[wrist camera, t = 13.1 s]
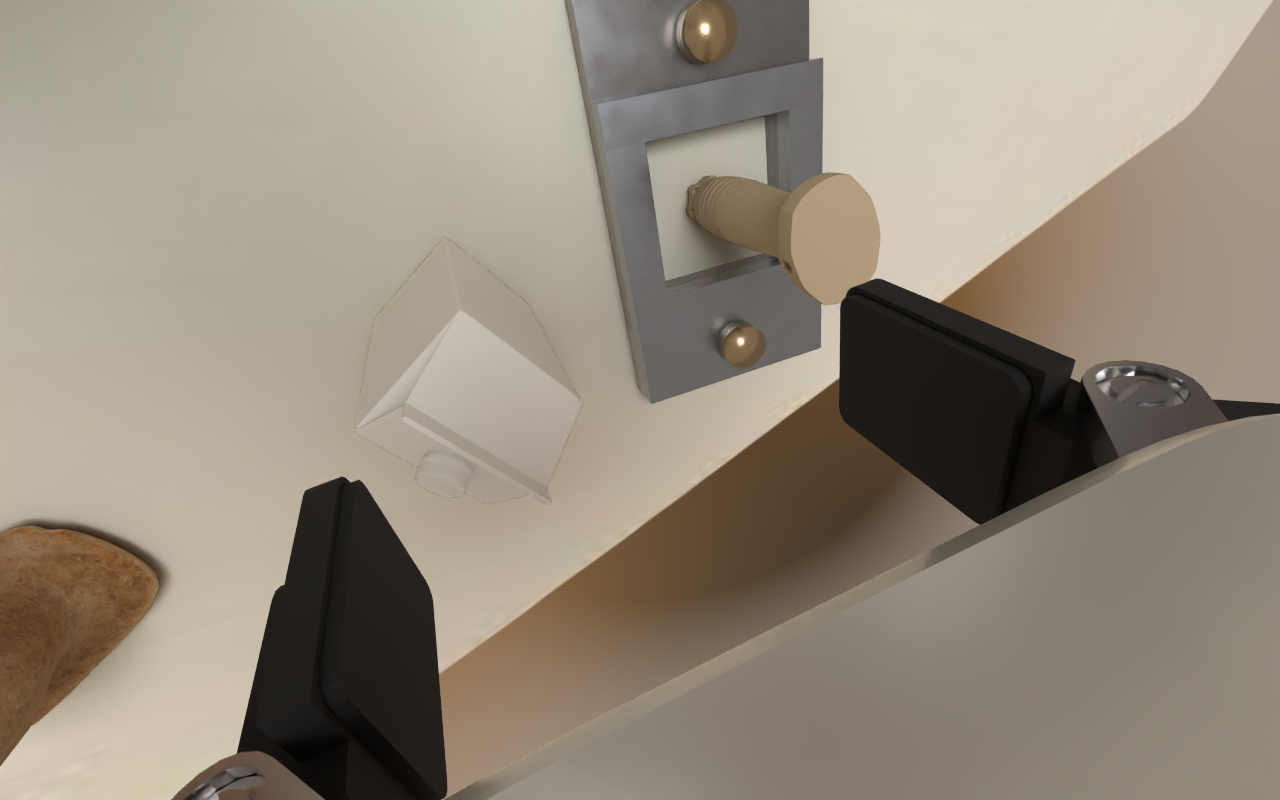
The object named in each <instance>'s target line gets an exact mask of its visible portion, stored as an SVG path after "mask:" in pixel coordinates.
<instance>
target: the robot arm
mask: <svg viewBox="0 0 1280 800" xmlns="http://www.w3.org/2000/svg"><path fill="white" fill-rule="evenodd" d="M1074 363H1075V360H1074V359H1072V358H1070V357H1067V356H1065V355H1062V354H1060V353H1058V352H1055V351H1053V350H1050V349H1048V348H1046V347H1043V346H1041V345H1038V344H1036V343H1033V342H1031V341H1029V340H1026V339H1024V338H1021V337H1019V336H1017V335H1014V334H1012V333H1010V332H1007V331H1005V330H1002V329H1000V328H998V327H995V326H993V325H990V324H988V323H986V322H983V321H981V320H978V319H976V318H974V317H971V316H969V315H966V314H964V313H961V312H959V311H956V310H954V309H952V308H950V307H947V306H945V305H942V304H940V303H938V302H935V301H933V300H930V299H928V298H926V297H923V296H921V295H918V294H916V293H914V292H911V291H909V290H906V289H904V288H902V287H899V286H897V285H894V284H892V283H890V282H887V281H885V280H882V279H874V280H871V281H868V282H865V283H863V284H860V285H857V286H855V287H852V288H850V289H849V290H848V291H847V294H846V297H845V298H844V299H843V300H842V302H841V307H840V386H839V389H840V391H839V393H840V394H839V408H840V413H841V416H842V418H843V420H844V421H845V422H846V423H847V424H848V425H849V426H850V427H852V428H853V429H854V430H855V431H857V432H858V433H859V434H861V435H862V436H863V437H865V438H866V439H867V440H869V441H870V442H871V443H872V444H874V445H875V446H876V447H878V448H879V449H880V450H882V451H883V452H884V453H886V454H887V455H888V456H889V457H891V458H892V459H893V460H895V461H896V462H897V463H899V464H900V465H901V466H903V467H904V468H905V469H906V470H908V471H909V472H910V473H912V474H913V475H914V476H915V477H917V478H918V479H920V480H921V481H922V482H923V483H925V484H926V485H927V486H929V487H930V488H931V489H932V490H934V491H935V492H936V493H938V494H939V495H940V496H942V497H943V498H944V499H946V500H947V501H948V502H949V503H951V504H952V505H953V506H955V507H956V508H957V509H959V510H960V511H961V512H962V513H964V514H965V515H966V516H968V517H969V518H970V519H972V520H973V521H975V522H976V523H978V524H980V525H979V526H978V527H976V528H973V529H971V530H969V531H967V532H965V533H963V534H961V535H959V536H957V537H955V538H953V539H951V540H949V541H947V542H945V543H943V544H941V545H939V546H937V547H935V548H933V549H931V550H929V551H927V552H925V553H923V554H921V555H919V556H917V557H915V558H913V559H911V560H909V561H907V562H905V563H903V564H901V565H899V566H897V567H895V568H893V569H891V570H889V571H887V572H885V573H883V574H881V575H879V576H877V577H875V578H873V579H871V580H869V581H867V582H865V583H863V584H861V585H859V586H857V587H855V588H853V589H851V590H849V591H847V592H845V593H843V594H841V595H839V596H837V597H835V598H833V599H831V600H829V601H827V602H825V603H823V604H821V605H819V606H817V607H815V608H813V609H811V610H809V611H807V612H805V613H803V614H801V615H799V616H797V617H795V618H793V619H791V620H789V621H787V622H785V623H783V624H781V625H779V626H777V627H775V628H773V629H771V630H769V631H767V632H765V633H763V634H761V635H759V636H757V637H755V638H753V639H751V640H749V641H747V642H745V643H743V644H741V645H739V646H737V647H735V648H733V649H731V650H729V651H728V652H726V653H724V654H722V655H720V656H718V657H716V658H714V659H712V660H710V661H708V662H706V663H704V664H702V665H700V666H698V667H696V668H694V669H692V670H690V671H688V672H686V673H684V674H682V675H680V676H678V677H676V678H674V679H672V680H671V681H668V682H666V683H664V684H663V685H661V686H659V687H657V688H655V689H653V690H651V691H649V692H647V693H645V694H643V695H641V696H639V697H637V698H635V699H633V700H631V701H629V702H627V703H625V704H623V705H621V706H619V707H617V708H615V709H613V710H611V711H609V712H607V713H605V714H604V715H602V716H600V717H598V718H596V719H594V720H592V721H590V722H588V723H586V724H584V725H582V726H580V727H578V728H576V729H575V730H573V731H571V732H569V733H567V734H565V735H563V736H561V737H560V738H558V739H556V740H554V741H552V742H550V743H548V744H546V745H544V746H542V747H541V748H539V749H537V750H535V751H533V752H531V753H529V754H527V755H525V756H524V757H522V758H520V759H518V760H516V761H514V762H512V763H510V764H508V765H506V766H505V767H503V768H501V769H499V770H497V771H495V772H493V773H491V774H489V775H487V776H486V777H484V778H482V779H480V780H478V781H476V782H474V783H473V784H471V785H469V786H467V787H466V788H464V789H462V790H461V791H459V792H457V793H456V794H454V795H452V796H450V797H449V798H447V799H445V800H1280V404H1275V403H1259V402H1243V401H1227V400H1212V399H1211V397H1210V396H1209V395H1208V393H1207V392H1206V391H1205V390H1204V388H1203V387H1202V386H1201V385H1200V384H1199V383H1197V382H1196V381H1195V380H1194V379H1193V378H1191V377H1189V376H1187V375H1186V374H1184V373H1182V372H1180V371H1178V370H1174V369H1171V368H1169V367H1166V366H1163V365H1158V364H1153V363H1147V362H1141V361H1127V360H1124V361H1109V362H1105V363H1100V364H1097V365H1094V366H1093V367H1091V368H1089V369H1087V370H1086V372H1085V373H1084V375H1083V376H1082V380H1081V383H1080V382H1077V381H1075V380H1073V379H1071V378H1070V377H1071V373H1072V370H1073V367H1074ZM446 794H447V775H446V761H445V748H444V736H443V723H442V710H441V697H440V685H439V671H438V659H437V646H436V633H435V620H434V607H433V599H432V595H431V591H430V588H429V586H428V584H427V582H426V580H425V579H424V577H423V576H422V574H421V572H420V571H419V569H418V568H417V566H416V565H415V563H414V561H413V560H412V558H411V557H410V555H409V554H408V552H407V551H406V549H405V547H404V546H403V544H402V543H401V541H400V540H399V538H398V536H397V535H396V533H395V532H394V530H393V529H392V527H391V525H390V524H389V522H388V521H387V519H386V518H385V516H384V514H383V513H382V511H381V510H380V508H379V507H378V505H377V503H376V502H375V500H374V499H373V497H372V496H371V494H370V492H369V491H368V489H367V488H366V486H365V485H364V484H363V482H361V481H360V480H357V481H354V482H351V483H350V482H349V480H347V479H346V478H345V477H340V478H337V479H334V480H332V481H329V482H326V483H323V484H321V485H318V486H315V487H313V488H310V489H308V490H306V491H305V493H304V495H303V499H302V504H301V509H300V514H299V518H298V523H297V528H296V533H295V537H294V542H293V547H292V552H291V556H290V561H289V566H288V571H287V575H286V580H285V585H283V586H281V587H279V588H278V589H277V590H276V591H275V594H274V596H273V599H272V602H271V606H270V611H269V615H268V619H267V624H266V628H265V633H264V637H263V641H262V646H261V650H260V654H259V659H258V663H257V668H256V672H255V676H254V681H253V685H252V689H251V694H250V698H249V703H248V707H247V711H246V716H245V720H244V724H243V729H242V733H241V737H240V742H239V746H238V751H237V754H235V755H232V756H230V757H227V758H225V759H222V760H220V761H218V762H217V763H215V764H214V765H212V766H211V767H209V768H207V769H206V770H204V771H203V772H201V773H199V774H198V775H197V776H196V777H195V778H194V779H193V780H191V781H190V782H189V783H188V784H187V785H186V786H185V787H184V788H182V789H181V790H180V791H179V792H178V793H177V794H176V795H175V796H174V798H173V799H172V800H441V799H443V798H445V797H446Z"/></svg>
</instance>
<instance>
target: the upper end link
mask: <svg viewBox="0 0 1280 800" xmlns="http://www.w3.org/2000/svg"><path fill="white" fill-rule="evenodd" d="M591 107H592V112H593V118H594V123H595V129H596V134H597V140H598V145H599V150H600V156H601V161H602V167H603V172H604V178H605V183H606V188H607V194H608V199H609V205H610V210H611V215H612V221H613V226H614V232H615V237H616V243H617V248H618V253H619V259H620V264H621V270H622V275H623V281H624V286H625V291H626V297H627V302H628V308H629V313H630V318H631V324H632V329H633V331H632V330H631V329H630V328H629V327H628V326H627V330H628V335H629V341H630V346H631V351H632V356H633V362H634V367H635V372H636V377H637V383H638V387H639V389H640V390H641V391H642V393H643V394H644V395H645V396H646V398H647V399H648V400H649V402H650V403H651V404H653V403H656V402H659V401H662V400H665V399H668V398H671V397H674V396H677V395H680V394H683V393H686V392H689V391H692V390H695V389H698V388H701V387H704V386H707V385H710V384H713V383H716V382H719V381H722V380H725V379H728V378H731V377H734V376H737V375H740V374H743V373H746V372H749V371H752V370H755V369H758V368H761V367H764V366H767V365H770V364H773V363H776V362H779V361H782V360H785V359H788V358H791V357H794V356H798V355H801V354H804V353H807V352H810V351H813V350H816V349H819V348H821V303H820V302H818V301H816V300H814V299H813V298H811V297H810V296H808V295H807V294H806V293H804V292H803V291H802V290H801V289H799V288H798V287H797V286H796V285H795V284H794V283H793V282H792V281H791V280H790V278H789V277H788V275H787V274H786V273H785V271H784V270H783V268H782V266H781V264H780V262H779V258H777V257H776V258H772V259H769V260H765V261H762V262H758V263H755V264H752V265H748V266H745V267H741V268H738V269H734V270H731V271H727V272H724V273H720V274H717V275H713V276H710V277H706V278H703V279H699V280H696V281H692V282H689V283H685V284H682V285H678V286H675V287H671V288H668V289H666V284H665V277H664V270H663V263H662V256H661V250H660V243H659V236H658V229H657V222H656V215H655V208H654V201H653V194H652V187H651V180H650V173H649V166H648V159H647V152H646V145H645V142H648V141H653V140H657V139H662V138H666V137H671V136H675V135H680V134H684V133H688V132H693V131H697V130H702V129H706V128H711V127H715V126H720V125H724V124H728V123H733V122H737V121H742V120H746V119H751V118H755V117H759V116H764V115H768V114H773V113H777V134H778V167H779V189H780V190H783V191H785V192H788V193H792V192H793V191H794V189H795V188H797V187H798V186H799V185H800V184H802V183H803V182H804V181H806V180H808V179H810V178H811V177H813V176H816V175H819V174H822V134H823V58H817V59H808V60H803V61H798V62H794V63H789V64H784V65H779V66H774V67H769V68H764V69H759V70H755V71H750V72H745V73H740V74H735V75H730V76H725V77H721V78H716V79H711V80H706V81H701V82H696V83H691V84H686V85H682V86H677V87H672V88H667V89H662V90H657V91H652V92H647V93H643V94H638V95H633V96H628V97H623V98H618V99H613V100H609V101H604V102H599V103H594V104H591Z"/></svg>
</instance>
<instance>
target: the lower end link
mask: <svg viewBox="0 0 1280 800" xmlns="http://www.w3.org/2000/svg"><path fill="white" fill-rule="evenodd" d="M565 3H566V8H567V14H568V19H569V24H570V29H571V35H572V40H573V45H574V51H575V56H576V61H577V66H578V72H579V77H580V82H581V87H582V93H583V98H584V103H585V109H586V114H587V119H588V124H589V130H590V135H591V140H592V145H593V151H594V156H595V161H596V167H597V172H598V177H599V182H600V188H601V193H602V198H603V203H604V209H605V214H606V219H607V225H608V230H609V235H610V240H611V246H612V251H613V256H614V261H615V267H616V272H617V277H618V283H619V288H620V293H621V298H622V304H623V309H624V314H625V319H626V325H627V326H628V327H629V328H630V329H631V330H632V331H633V329H632V324H631V318H630V313H629V308H628V302H627V297H626V291H625V286H624V281H623V275H622V270H621V264H620V259H619V253H618V248H617V243H616V237H615V232H614V226H613V221H612V215H611V210H610V205H609V199H608V194H607V188H606V183H605V178H604V172H603V167H602V161H601V156H600V150H599V145H598V140H597V134H596V129H595V123H594V118H593V112H592V107H591V104H594V103H599V102H604V101H609V100H613V99H618V98H623V97H628V96H633V95H638V94H643V93H647V92H652V91H657V90H662V89H667V88H672V87H677V86H682V85H686V84H691V83H696V82H701V81H706V80H711V79H716V78H721V77H725V76H730V75H735V74H740V73H745V72H750V71H755V70H759V69H764V68H769V67H774V66H779V65H784V64H789V63H794V62H798V61H803V60H808V59H809V0H565ZM765 121H766V146H767V171H768V185H769V186H772V187H774V188H777V189H779V167H778V134H777V113H773V114H768V115H765ZM772 258H776V257H774V256H771V255H768V254H765V253H764V254H760V255H757V256H753V257H750V258H746V259H743V260H739V261H736V262H732V263H729V264H725V265H721V266H718V267H714V268H711V269H707V270H704V271H700V272H697V273H693V274H690V275H686V276H683V277H679V278H676V279H672V280H669V281H665V284H666V289H668V288H671V287H675V286H678V285H682V284H685V283H689V282H692V281H696V280H699V279H703V278H706V277H710V276H713V275H717V274H720V273H724V272H727V271H731V270H734V269H738V268H741V267H745V266H748V265H752V264H755V263H758V262H762V261H765V260H769V259H772Z"/></svg>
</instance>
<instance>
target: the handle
mask: <svg viewBox="0 0 1280 800" xmlns="http://www.w3.org/2000/svg"><path fill="white" fill-rule="evenodd" d="M688 193H689V204H688V207H687V213H688V214H689V216H690V217H691V218H692V219H694V220H697V221H698V222H699V223H700V224H701V225H702V226H703V227H704V228H705V229H707V230H708V231H709V232H711V233H713V234H714V235H716V236H718V237H719V238H721V239H723V240H725V241H727V242H730V243H732V244H735V245H738V246H741V247H745V248H748V249H751V250H755V251H758V252H762V253H765V254H768V255H771V256H774V257H777V258H779V262H780V264H781V266H782V268H783V270H784V271H785V273H786V274H787V275H788V277H789V278H790V280H791V281H792V282H793V283H794V284H795V285H796V286H797V287H798V288H799V289H801V290H802V291H803V292H804V293H806V294H807V295H808V296H810V297H811V298H813V299H814V300H816V301H818V302H820V303H822V304H824V305H833V304H838V303H840V302H842V300H843V299H844V298H845V297H846V294H847V291H848V290H849V289H850V288H852V287H855V286H857V285H860V284H863V283H865V282H868V281H869V280H870V279H871V277H872V276H873V274H874V272H875V271H876V267H877V260H878V254H879V246H880V229H879V223H878V219H877V215H876V212H875V208H874V205H873V202H872V200H871V198H870V196H869V195H868V193H867V192H866V191H865V190H864V189H863V187H862V186H861V185H860V184H859V183H858V182H857V181H856V180H855V179H854V178H853V177H851V176H850V175H848V174H841V173H822V174H819V175H816V176H813V177H811V178H810V179H808V180H806V181H804V182H803V183H802V184H800V185H799V186H798V187H797V188H795V189H794V191H793V192H792V193H788V192H785V191H783V190H780V189H777V188H774V187H772V186H769V185H766V184H763V183H761V182H758V181H755V180H750V179H746V178H741V177H731V176H722V177H716V176H706V177H703V178H702V180H701V181H700V182H699V183H698V184H696V185H691V186H690V188H689V190H688Z"/></svg>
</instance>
